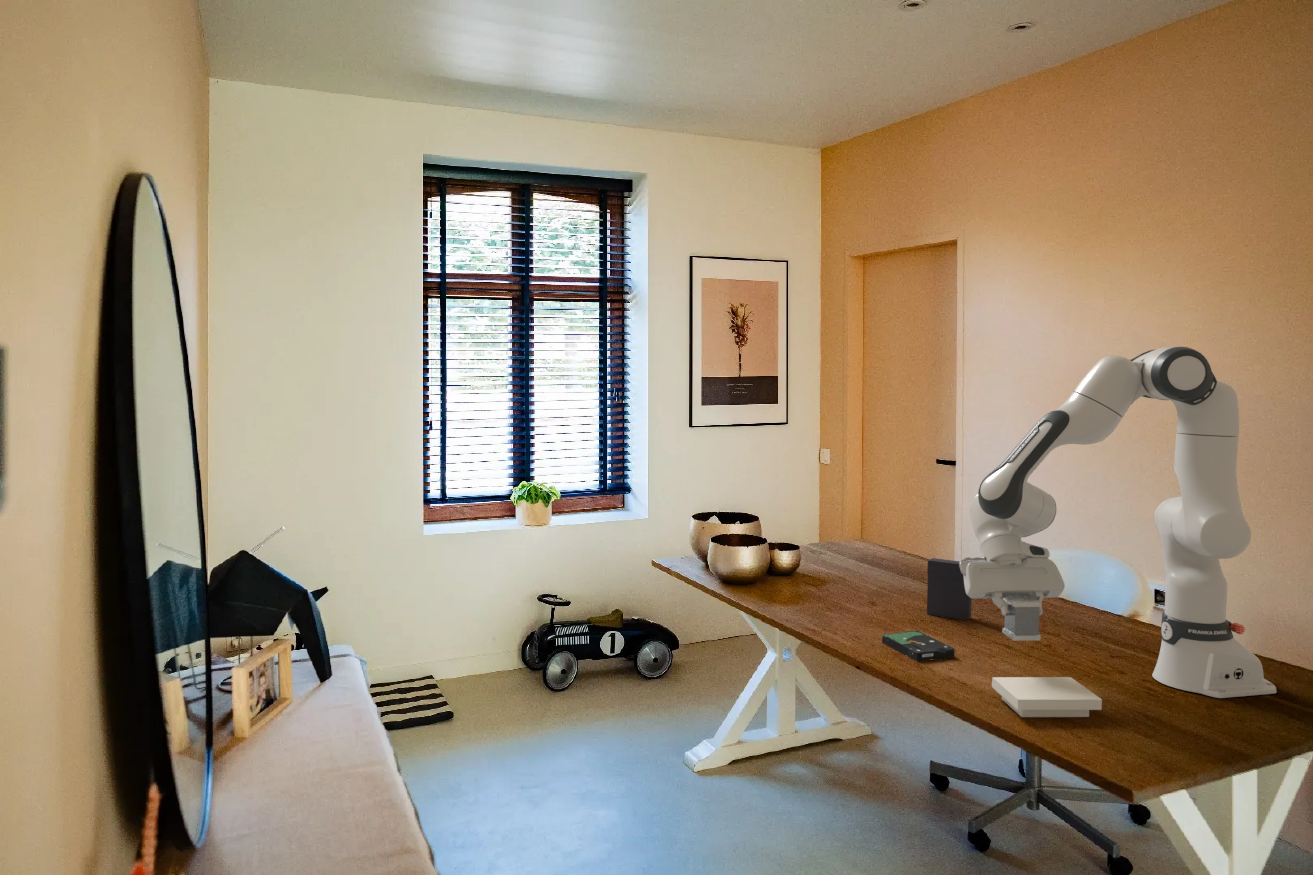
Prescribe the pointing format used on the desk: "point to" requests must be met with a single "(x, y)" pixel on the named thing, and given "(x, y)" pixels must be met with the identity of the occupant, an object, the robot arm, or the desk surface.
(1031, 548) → the robot arm
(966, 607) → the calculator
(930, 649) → the disk drive
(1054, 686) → the stand
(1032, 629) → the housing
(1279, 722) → the desk surface
